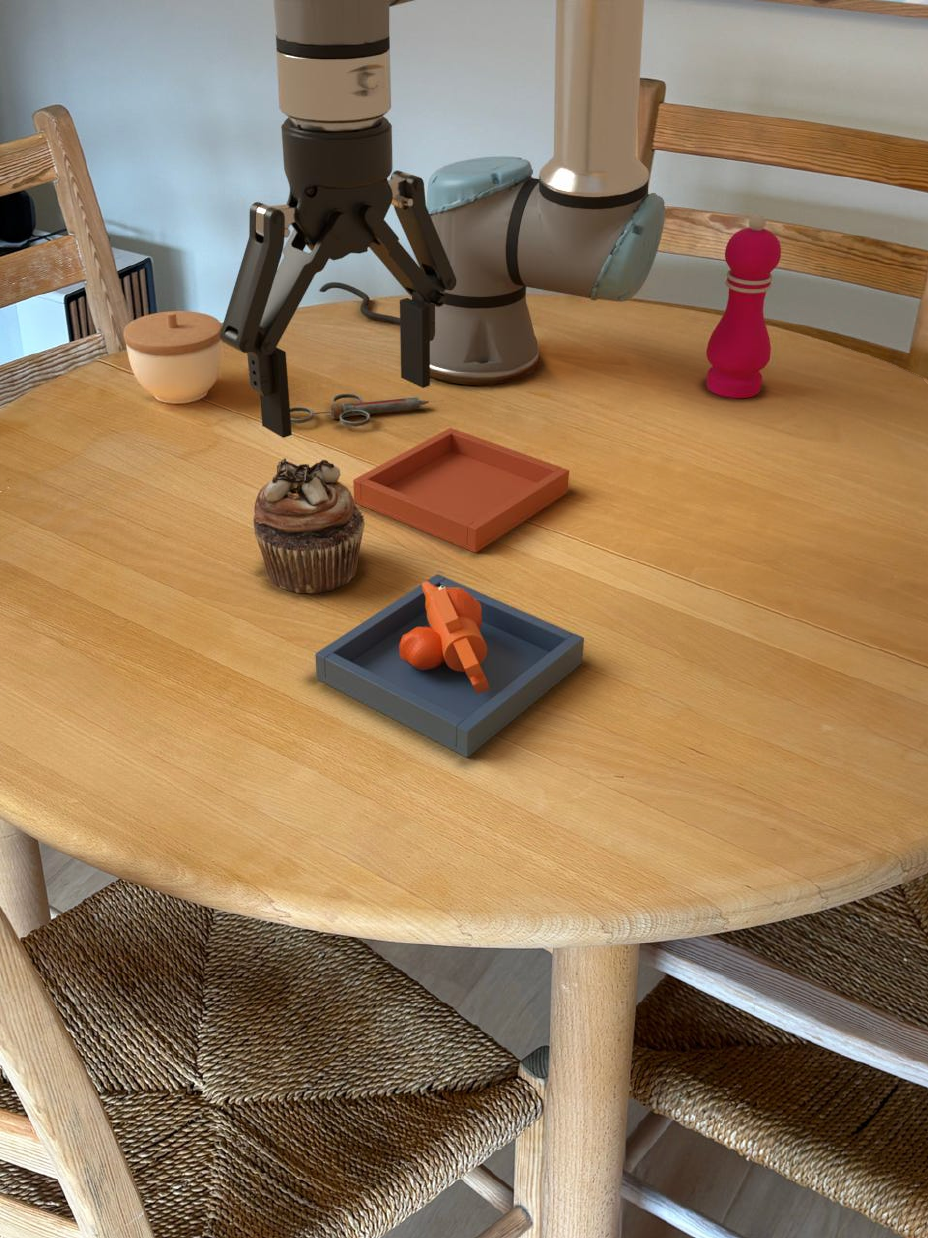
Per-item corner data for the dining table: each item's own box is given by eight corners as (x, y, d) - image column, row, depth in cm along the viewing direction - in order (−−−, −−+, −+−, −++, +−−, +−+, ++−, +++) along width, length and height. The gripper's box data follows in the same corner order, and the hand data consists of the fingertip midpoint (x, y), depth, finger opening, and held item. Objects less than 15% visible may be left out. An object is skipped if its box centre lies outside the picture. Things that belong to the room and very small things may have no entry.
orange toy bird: (501, 640, 91) (459, 557, 101) (407, 680, 91) (374, 593, 101) (519, 688, 94) (477, 604, 104) (428, 727, 94) (395, 639, 104)
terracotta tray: (353, 502, 121) (352, 479, 120) (449, 449, 131) (450, 427, 130) (475, 553, 114) (476, 529, 112) (568, 492, 123) (569, 469, 122)
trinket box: (163, 421, 136) (152, 339, 130) (115, 390, 142) (103, 310, 137) (246, 395, 141) (239, 315, 136) (196, 366, 148) (188, 289, 143)
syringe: (452, 421, 137) (452, 407, 136) (289, 438, 133) (288, 424, 132) (435, 393, 143) (435, 379, 142) (278, 409, 139) (277, 394, 138)
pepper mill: (695, 394, 143) (718, 219, 132) (709, 371, 149) (732, 201, 138) (758, 404, 141) (786, 228, 130) (769, 381, 147) (798, 209, 136)
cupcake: (255, 601, 106) (244, 498, 101) (261, 543, 114) (252, 445, 109) (367, 597, 107) (363, 495, 102) (365, 540, 115) (361, 442, 110)
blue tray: (316, 679, 98) (314, 653, 96) (437, 598, 107) (437, 573, 106) (467, 758, 90) (467, 731, 89) (582, 663, 100) (584, 637, 98)
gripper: (210, 158, 75) (241, 471, 87) (506, 100, 89) (498, 377, 101) (145, 135, 80) (184, 435, 92) (437, 83, 94) (437, 350, 106)
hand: (348, 405), depth 97 cm, fingers open, 13 cm apart
